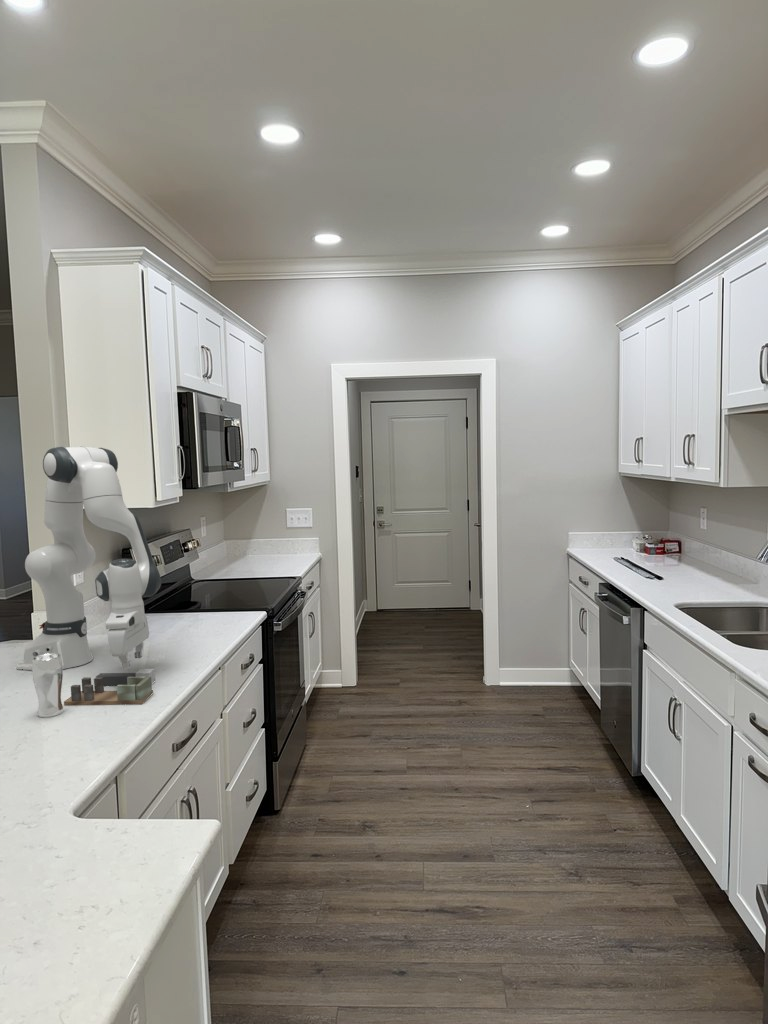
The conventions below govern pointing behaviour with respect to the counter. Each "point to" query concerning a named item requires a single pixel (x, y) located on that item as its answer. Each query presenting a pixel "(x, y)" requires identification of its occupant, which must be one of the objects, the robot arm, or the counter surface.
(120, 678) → the dark grey square bar
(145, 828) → the counter surface
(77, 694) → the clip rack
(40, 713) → the beer glass
